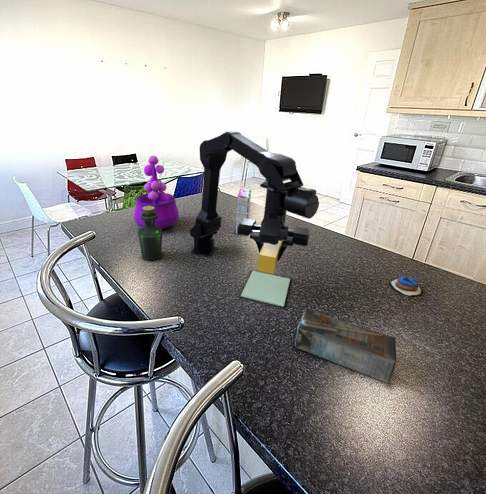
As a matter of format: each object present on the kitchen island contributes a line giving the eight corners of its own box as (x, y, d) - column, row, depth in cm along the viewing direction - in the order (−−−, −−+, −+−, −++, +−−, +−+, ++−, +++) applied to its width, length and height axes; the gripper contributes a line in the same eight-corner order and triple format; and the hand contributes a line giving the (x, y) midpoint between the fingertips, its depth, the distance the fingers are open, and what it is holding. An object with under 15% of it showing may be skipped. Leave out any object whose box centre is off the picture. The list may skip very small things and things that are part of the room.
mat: (240, 296, 82) (240, 295, 82) (252, 271, 94) (252, 270, 94) (283, 307, 78) (283, 306, 78) (290, 279, 90) (290, 278, 90)
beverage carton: (301, 326, 72) (305, 304, 69) (390, 358, 64) (398, 335, 61) (293, 348, 66) (297, 325, 63) (390, 386, 57) (400, 362, 55)
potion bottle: (165, 260, 100) (163, 211, 92) (141, 263, 97) (136, 213, 90) (161, 249, 107) (159, 202, 99) (139, 252, 104) (134, 204, 97)
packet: (265, 250, 89) (267, 236, 87) (280, 253, 87) (282, 238, 85) (257, 270, 78) (258, 254, 76) (273, 274, 77) (275, 257, 75)
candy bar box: (237, 223, 130) (239, 188, 123) (249, 224, 129) (251, 189, 123) (234, 234, 120) (236, 195, 113) (246, 235, 119) (249, 197, 113)
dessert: (405, 295, 83) (402, 274, 84) (387, 295, 89) (385, 275, 91) (429, 295, 84) (426, 274, 85) (410, 295, 91) (407, 275, 92)
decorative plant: (126, 229, 122) (118, 157, 110) (150, 214, 138) (146, 150, 125) (165, 238, 115) (161, 162, 103) (186, 221, 131) (185, 153, 119)
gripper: (232, 211, 72) (229, 265, 78) (311, 223, 66) (301, 281, 73) (244, 198, 82) (240, 247, 88) (314, 208, 76) (304, 260, 82)
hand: (269, 258), depth 82 cm, fingers closed on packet, 4 cm apart
